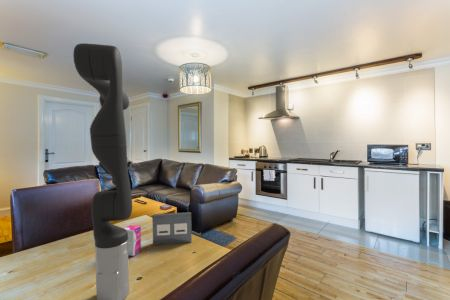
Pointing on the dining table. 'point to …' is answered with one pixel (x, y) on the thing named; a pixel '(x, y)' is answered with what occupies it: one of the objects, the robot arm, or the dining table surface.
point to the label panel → (171, 228)
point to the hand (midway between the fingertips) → (116, 184)
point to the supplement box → (133, 240)
